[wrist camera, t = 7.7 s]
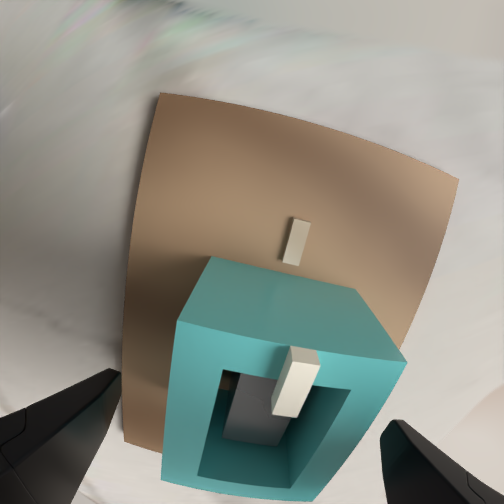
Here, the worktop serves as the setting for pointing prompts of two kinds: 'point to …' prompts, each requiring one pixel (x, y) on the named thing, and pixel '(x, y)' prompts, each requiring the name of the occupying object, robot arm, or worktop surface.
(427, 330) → the worktop surface
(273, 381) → the grey rectangular block
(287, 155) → the base plate
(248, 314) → the teal hollow block
